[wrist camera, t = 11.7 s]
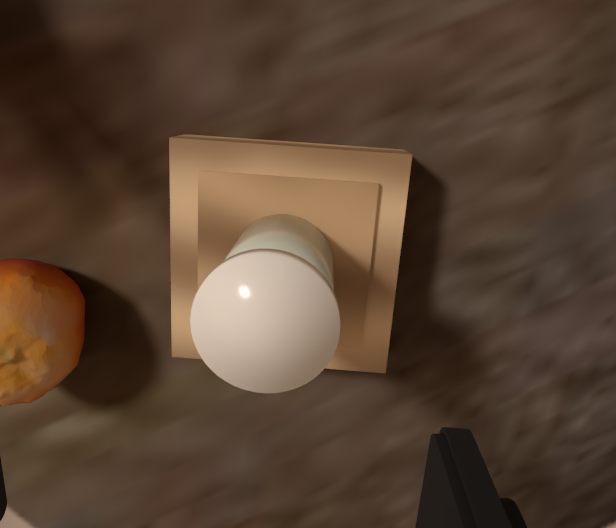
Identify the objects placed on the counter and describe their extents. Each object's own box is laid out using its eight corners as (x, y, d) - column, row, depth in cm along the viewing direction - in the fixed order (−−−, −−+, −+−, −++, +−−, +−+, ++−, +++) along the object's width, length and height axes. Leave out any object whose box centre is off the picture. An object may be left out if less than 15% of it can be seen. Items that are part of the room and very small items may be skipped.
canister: (230, 206, 26) (189, 249, 19) (340, 213, 26) (346, 260, 19) (228, 309, 28) (190, 387, 20) (332, 316, 28) (334, 398, 20)
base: (185, 134, 29) (167, 137, 25) (404, 149, 28) (413, 155, 25) (185, 334, 32) (170, 358, 29) (380, 349, 32) (385, 375, 29)
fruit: (-72, 228, 29) (-93, 285, 23) (80, 238, 33) (99, 289, 27) (-74, 355, 32) (-93, 438, 25) (69, 349, 36) (83, 420, 29)
